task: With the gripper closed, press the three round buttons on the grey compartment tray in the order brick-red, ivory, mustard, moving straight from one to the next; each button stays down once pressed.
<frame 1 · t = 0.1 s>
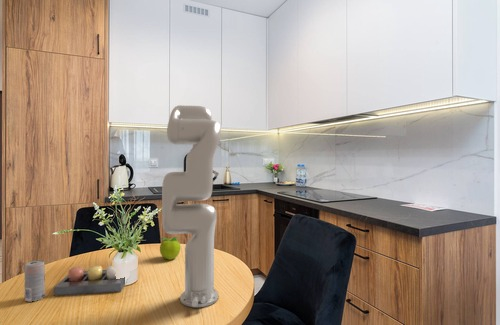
hand: (200, 190, 142), 31 cm above the table, tool pointing down, fingers open, 9 cm apart
grey compartment tray: (95, 285, 108), on the table
ivory button: (113, 272, 109), point 4 cm above the table, slide at 0.0 cm
energy drink: (34, 299, 98), on the table
mustard button: (95, 273, 108), point 4 cm above the table, slide at 0.0 cm
fruit: (169, 259, 137), on the table
brick button: (76, 274, 107), point 4 cm above the table, slide at 0.0 cm
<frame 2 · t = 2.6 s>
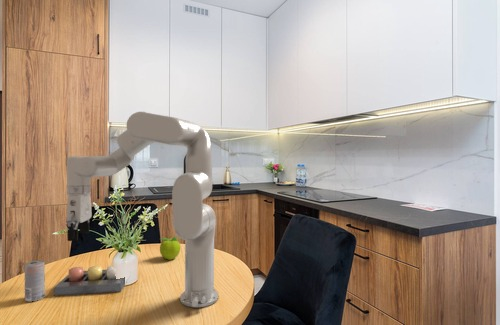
hand: (78, 236, 108), 18 cm above the table, tool pointing down, fingers open, 9 cm apart
nothing on the table moved.
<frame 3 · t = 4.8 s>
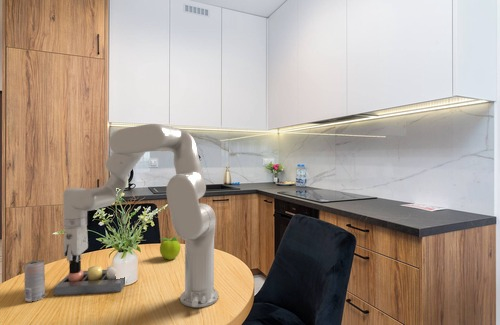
hand: (75, 272, 107), 5 cm above the table, tool pointing down, fingers closed
brick button: (76, 277, 107), point 3 cm above the table, slide at 1.2 cm, touching gripper
everything else where it was.
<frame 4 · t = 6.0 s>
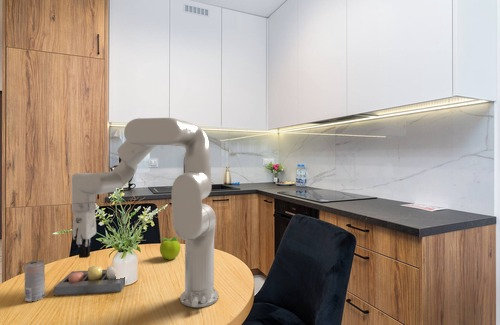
hand: (84, 256, 108), 11 cm above the table, tool pointing down, fingers closed
brick button: (76, 280, 107), point 2 cm above the table, slide at 2.0 cm
everything else where it was.
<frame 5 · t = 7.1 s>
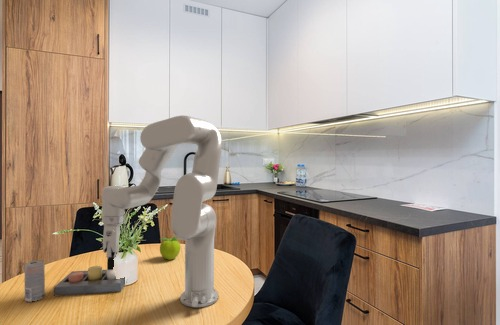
hand: (112, 268, 109), 6 cm above the table, tool pointing down, fingers closed
ivory button: (113, 274, 109), point 4 cm above the table, slide at 0.7 cm, touching gripper
everything else where it was.
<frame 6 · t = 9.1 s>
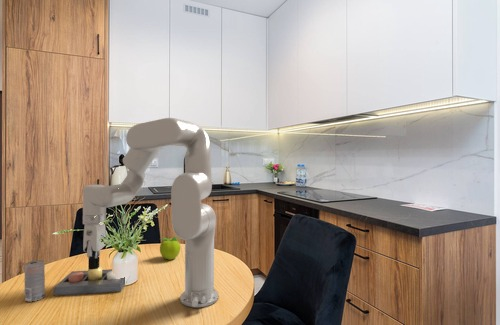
hand: (93, 268, 108), 6 cm above the table, tool pointing down, fingers closed
ivory button: (113, 278, 109), point 2 cm above the table, slide at 2.1 cm
mustard button: (95, 273, 108), point 4 cm above the table, slide at 0.1 cm, touching gripper
everything else where it was.
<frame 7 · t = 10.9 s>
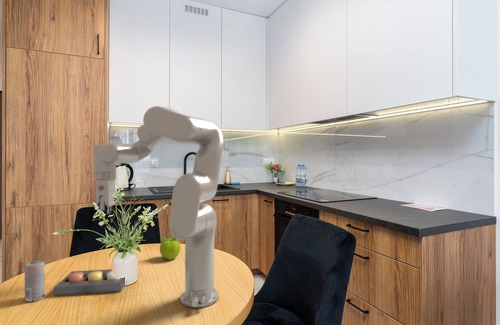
hand: (106, 223, 114), 21 cm above the table, tool pointing down, fingers closed
mustard button: (95, 279, 108), point 2 cm above the table, slide at 2.0 cm
everything else where it was.
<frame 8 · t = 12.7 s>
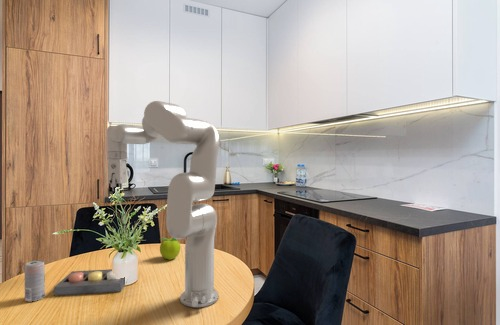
hand: (117, 200, 122), 29 cm above the table, tool pointing down, fingers closed
nothing on the table moved.
at the end: brick button slide at 2.0 cm; ivory button slide at 2.1 cm; mustard button slide at 2.0 cm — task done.
